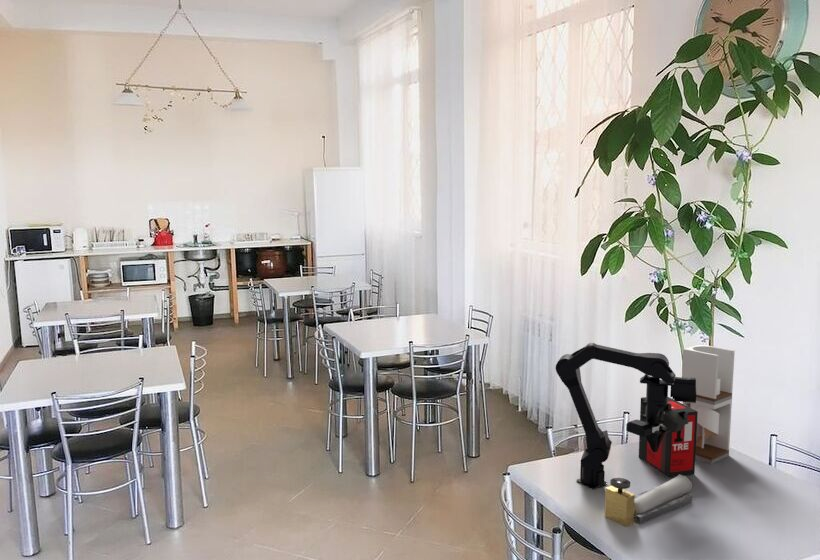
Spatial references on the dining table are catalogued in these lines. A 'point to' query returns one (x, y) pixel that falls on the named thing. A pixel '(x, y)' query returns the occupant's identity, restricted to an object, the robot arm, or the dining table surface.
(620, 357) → the robot arm
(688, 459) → the cleaning product box
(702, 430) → the display case
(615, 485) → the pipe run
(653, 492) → the tube
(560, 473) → the dining table surface
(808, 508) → the dining table surface
